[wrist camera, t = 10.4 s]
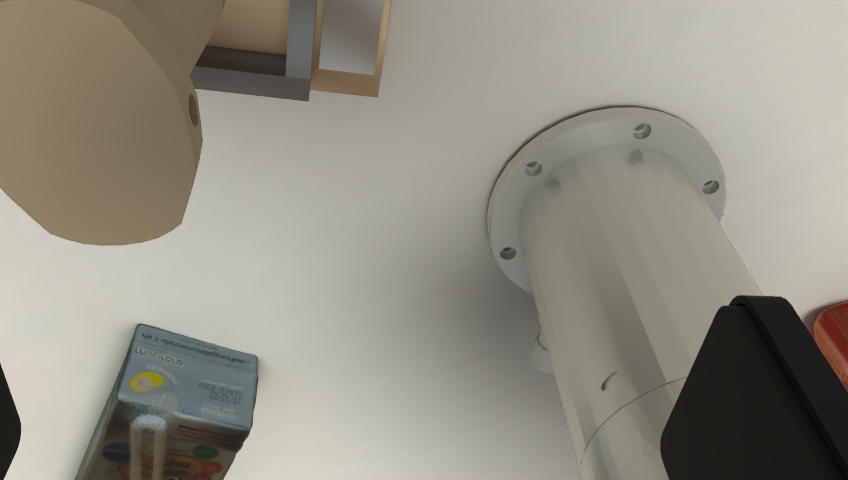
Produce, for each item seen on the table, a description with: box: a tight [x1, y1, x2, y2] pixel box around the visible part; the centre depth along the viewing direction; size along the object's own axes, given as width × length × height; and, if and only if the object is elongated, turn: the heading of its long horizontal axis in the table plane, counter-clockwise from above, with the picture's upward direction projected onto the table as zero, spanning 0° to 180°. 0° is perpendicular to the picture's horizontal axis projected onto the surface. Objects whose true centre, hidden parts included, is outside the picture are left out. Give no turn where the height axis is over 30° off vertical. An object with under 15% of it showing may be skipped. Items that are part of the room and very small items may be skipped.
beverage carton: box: [75, 325, 258, 480], centre depth 48 cm, size 8×19×7 cm, turn 153°
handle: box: [0, 0, 226, 245], centre depth 23 cm, size 5×6×15 cm
